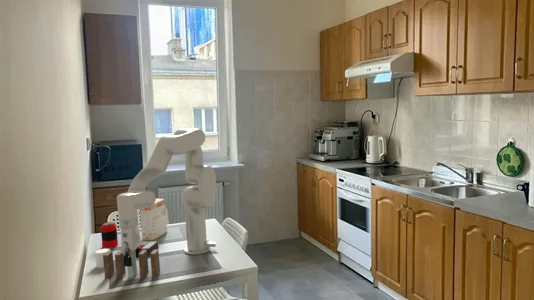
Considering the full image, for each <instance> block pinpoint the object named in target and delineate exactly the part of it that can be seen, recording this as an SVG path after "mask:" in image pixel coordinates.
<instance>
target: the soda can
mask: <svg viewBox="0 0 534 300" xmlns="http://www.w3.org/2000/svg"><path fill="white" fill-rule="evenodd" d="M117 228H118V227H117V224H116V223H115V222H113V221H111V222H110V221H109V222H108V221H107V222H105V223H102V224H101V227H100V232H101V243H102V249H104V248H107V249H113V248H116V247H118V246H119V240H118V239H119V238H118V232H117V231H118V229H117Z"/></svg>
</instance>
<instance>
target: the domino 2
mask: <svg viewBox="0 0 534 300" xmlns="http://www.w3.org/2000/svg"><path fill="white" fill-rule="evenodd" d="M114 263H115V264H114V265H115V275H116V279H118V278H119V279H122V278H123V277H124V276H125V274H126V273H127V270H126V267H125V266H124V260H123V255H122V251H120V250H118V251H117V252H116V253H115V254H114Z"/></svg>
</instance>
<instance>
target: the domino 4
mask: <svg viewBox="0 0 534 300" xmlns="http://www.w3.org/2000/svg"><path fill="white" fill-rule="evenodd" d="M138 256H139V258H138V267H139V277H140V278H146V276H147V275H148V274H149V273H148V272H149V260H148V259H149V256H147V250H142V251H141V252H140V253H139V254H138ZM147 273H148V274H147Z"/></svg>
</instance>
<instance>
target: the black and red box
mask: <svg viewBox="0 0 534 300" xmlns="http://www.w3.org/2000/svg"><path fill="white" fill-rule="evenodd" d="M139 246H140V247H139V249H140V252H141V251H142V250H147V255H150V253H151V252H152V251H153V250H155V249H159V247H160V245H159V241H150V240H146V241H141V244H140V245H139ZM121 250H122V249H121ZM121 250H119V251H121ZM127 250H129V249H127ZM127 253H128V252H127Z"/></svg>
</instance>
